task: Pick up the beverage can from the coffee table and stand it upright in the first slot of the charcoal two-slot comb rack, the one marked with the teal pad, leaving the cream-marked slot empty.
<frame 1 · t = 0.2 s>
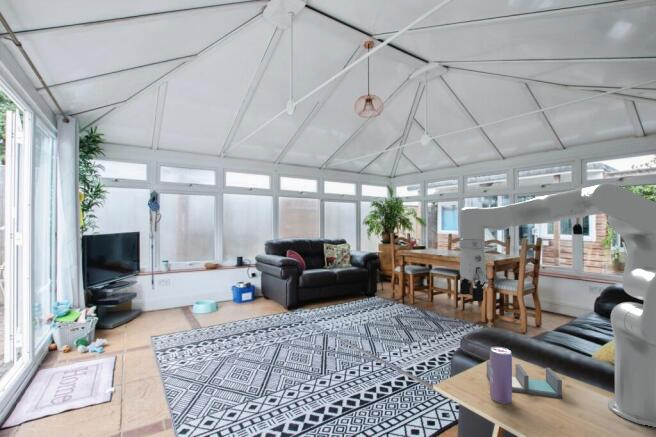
hand: (471, 297, 101), 30 cm above the table, tool pointing down, fingers open, 9 cm apart
beverage can: (500, 399, 96), on the table
comb rack: (521, 386, 104), on the table
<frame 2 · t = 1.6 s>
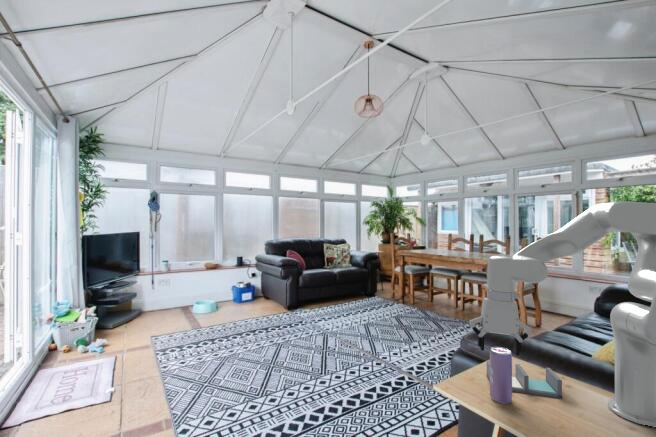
hand: (498, 351, 96), 15 cm above the table, tool pointing down, fingers open, 9 cm apart
nothing on the table moved.
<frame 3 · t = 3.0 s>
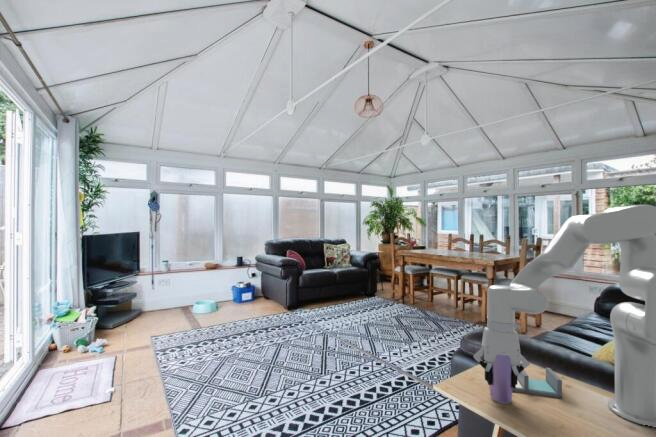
hand: (500, 384, 96), 5 cm above the table, tool pointing down, fingers closed on beverage can, 6 cm apart
beverage can: (500, 399, 96), on the table, touching gripper
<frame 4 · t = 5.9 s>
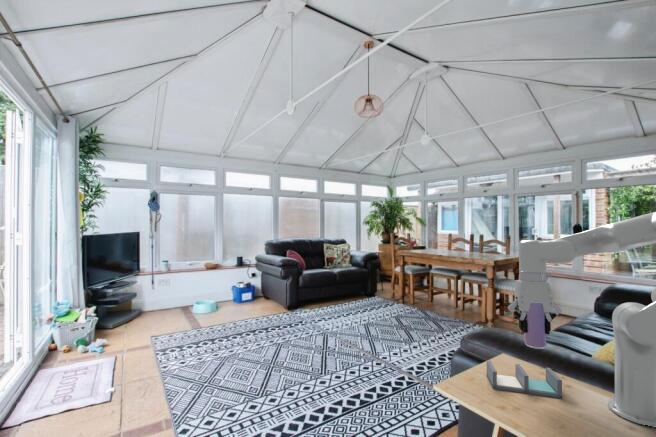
hand: (534, 331, 102), 19 cm above the table, tool pointing down, fingers closed on beverage can, 6 cm apart
beverage can: (535, 346, 102), point 14 cm above the table, touching gripper
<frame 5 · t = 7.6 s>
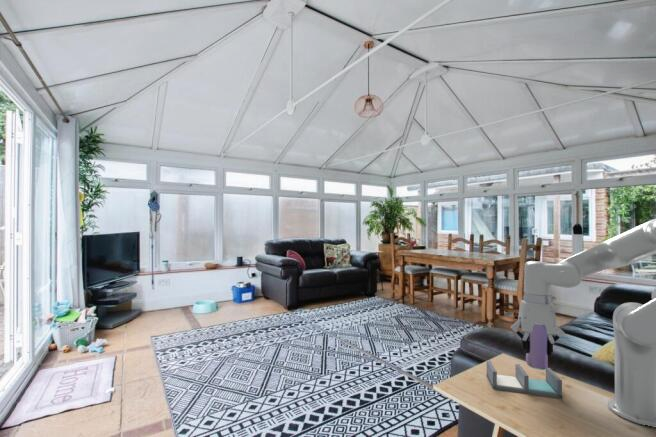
hand: (536, 352, 103), 12 cm above the table, tool pointing down, fingers closed on beverage can, 6 cm apart
beverage can: (536, 366, 103), point 7 cm above the table, touching gripper
when the fingers open (7 cm above the table, at t = 8.9 s): beverage can drops 1 cm, resting on comb rack.
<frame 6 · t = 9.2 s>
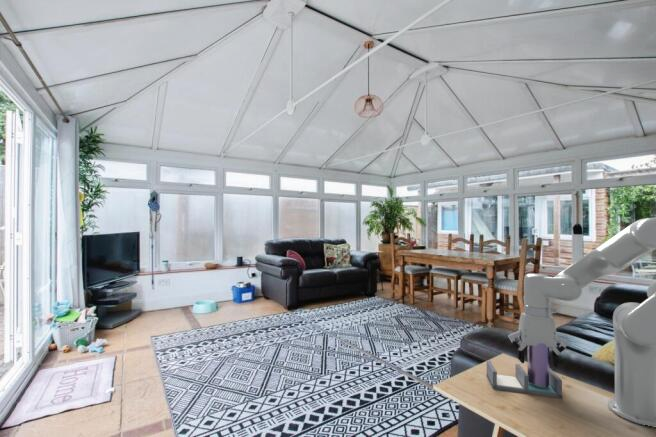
hand: (537, 363, 103), 8 cm above the table, tool pointing down, fingers open, 9 cm apart
beverage can: (538, 385, 102), point 1 cm above the table, touching comb rack
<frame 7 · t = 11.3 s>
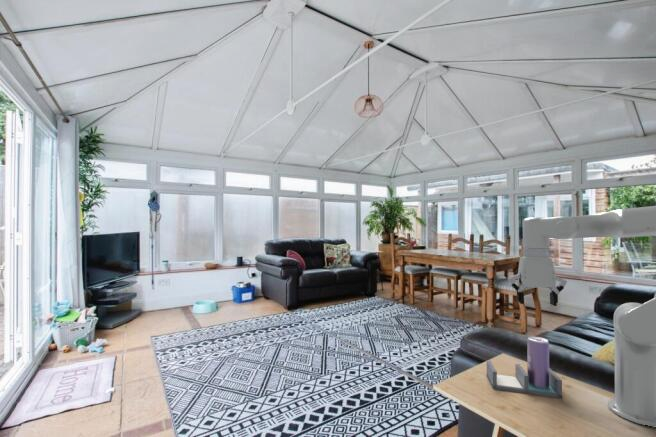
hand: (537, 304, 105), 27 cm above the table, tool pointing down, fingers open, 9 cm apart
nothing on the table moved.
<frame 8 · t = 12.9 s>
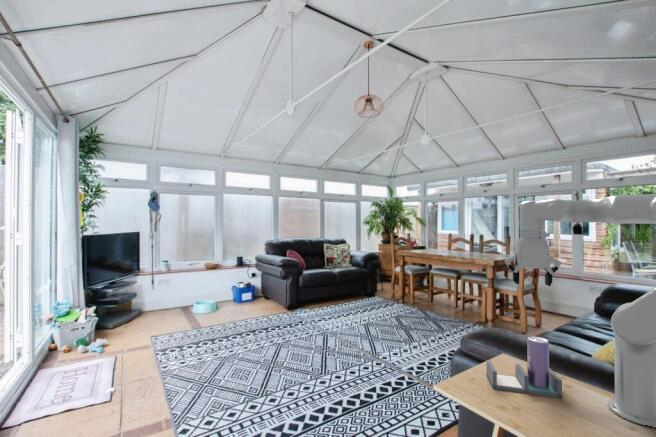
hand: (532, 284, 109), 33 cm above the table, tool pointing down, fingers open, 9 cm apart
nothing on the table moved.
at the end: beverage can 0.2 cm from the target spot on the comb rack, point 1.0 cm above the comb rack's base; beverage can tilted 0°; the gripper is holding nothing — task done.
